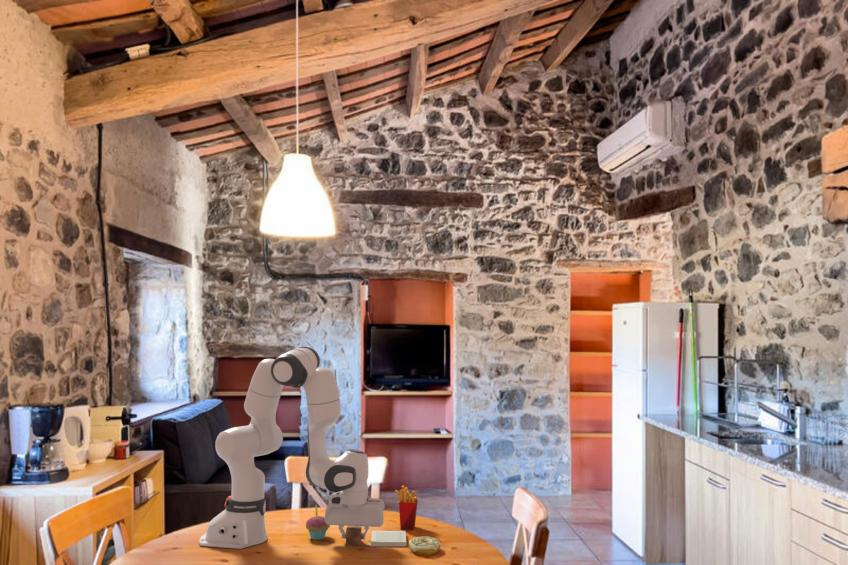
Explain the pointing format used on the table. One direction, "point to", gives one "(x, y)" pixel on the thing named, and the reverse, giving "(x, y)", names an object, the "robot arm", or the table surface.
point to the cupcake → (317, 527)
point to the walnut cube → (353, 535)
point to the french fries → (407, 508)
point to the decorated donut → (424, 545)
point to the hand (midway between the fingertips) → (353, 538)
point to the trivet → (388, 538)
